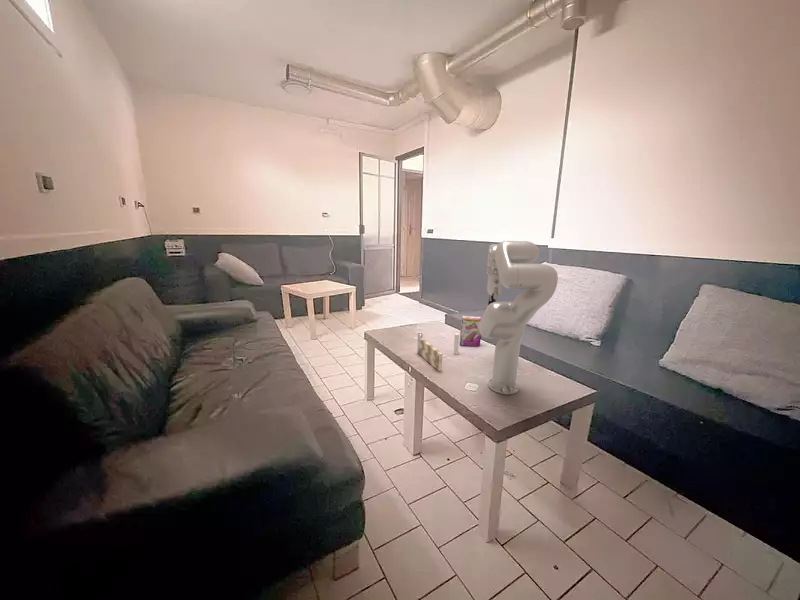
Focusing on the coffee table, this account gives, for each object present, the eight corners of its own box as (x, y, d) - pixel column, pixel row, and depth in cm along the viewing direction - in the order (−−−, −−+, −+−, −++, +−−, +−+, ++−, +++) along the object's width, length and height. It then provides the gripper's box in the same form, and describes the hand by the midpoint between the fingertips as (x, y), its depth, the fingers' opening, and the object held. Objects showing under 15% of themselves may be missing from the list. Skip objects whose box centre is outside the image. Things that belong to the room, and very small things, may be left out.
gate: (419, 354, 164) (420, 338, 161) (422, 353, 164) (422, 338, 162) (438, 371, 146) (439, 354, 144) (441, 370, 146) (442, 353, 144)
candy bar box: (460, 346, 176) (461, 318, 172) (459, 342, 181) (461, 315, 177) (480, 347, 175) (482, 319, 171) (479, 343, 180) (481, 316, 176)
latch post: (457, 354, 165) (459, 334, 162) (453, 354, 165) (455, 334, 163) (457, 352, 167) (458, 333, 164) (453, 352, 167) (454, 333, 164)
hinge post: (421, 354, 164) (422, 334, 161) (417, 354, 164) (417, 334, 162) (421, 352, 167) (422, 333, 164) (417, 352, 167) (417, 333, 164)
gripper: (507, 274, 140) (503, 313, 145) (499, 268, 155) (496, 304, 159) (490, 273, 141) (486, 312, 145) (484, 268, 155) (481, 304, 160)
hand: (491, 308), depth 152 cm, fingers closed
